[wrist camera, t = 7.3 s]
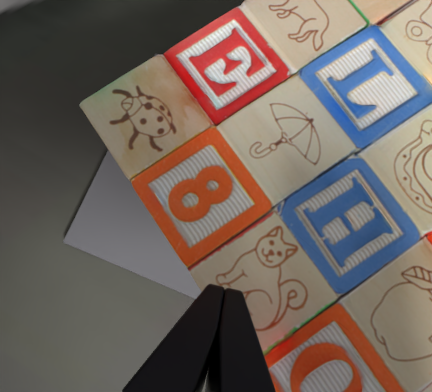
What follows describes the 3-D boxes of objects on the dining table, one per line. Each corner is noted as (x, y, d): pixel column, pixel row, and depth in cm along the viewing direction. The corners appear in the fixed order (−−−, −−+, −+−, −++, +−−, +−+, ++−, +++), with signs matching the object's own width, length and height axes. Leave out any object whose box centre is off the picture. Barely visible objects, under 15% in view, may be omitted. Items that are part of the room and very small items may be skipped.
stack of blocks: (421, 618, 14) (655, 414, 15) (584, 892, 8) (951, 510, 9) (122, 157, 17) (334, 25, 19) (72, 95, 11) (391, -94, 13)
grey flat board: (407, 389, 16) (411, 391, 15) (65, 242, 17) (62, 242, 17) (469, 174, 18) (473, 173, 17) (156, 56, 19) (155, 53, 18)
